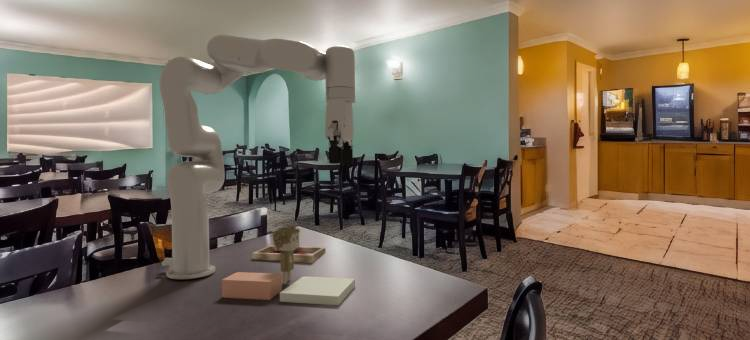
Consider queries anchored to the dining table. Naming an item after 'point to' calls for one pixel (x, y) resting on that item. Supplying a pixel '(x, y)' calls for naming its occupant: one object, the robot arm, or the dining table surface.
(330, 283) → the plate
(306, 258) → the car corral
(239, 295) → the brick
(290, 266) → the toy
